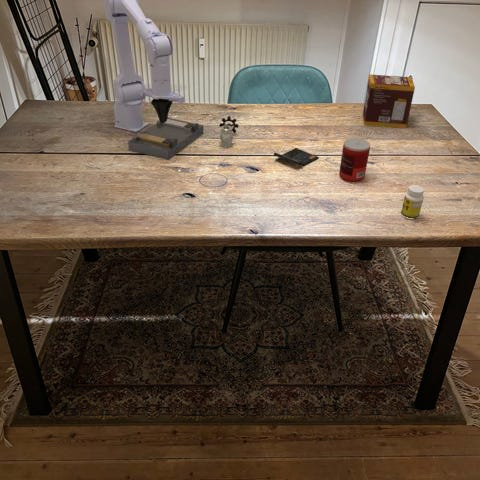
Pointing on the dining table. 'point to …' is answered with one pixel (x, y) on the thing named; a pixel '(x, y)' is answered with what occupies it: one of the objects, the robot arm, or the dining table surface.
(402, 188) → the dining table surface
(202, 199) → the dining table surface
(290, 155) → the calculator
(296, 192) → the dining table surface
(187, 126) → the steel strap
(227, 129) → the valve
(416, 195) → the supplement bottle
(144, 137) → the brass strap
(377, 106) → the supplement box
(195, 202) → the dining table surface
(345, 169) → the canned food
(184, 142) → the grey flat block
